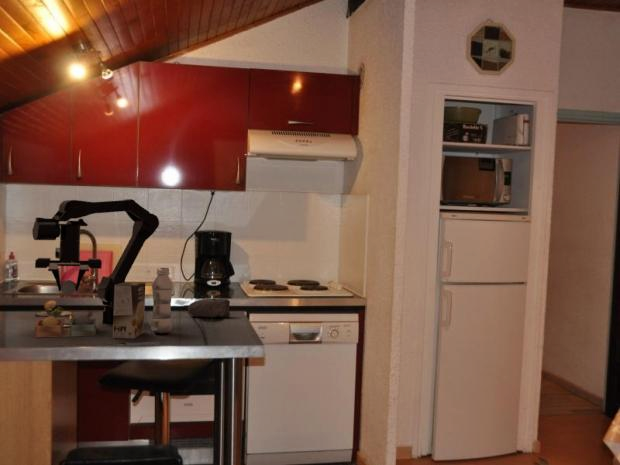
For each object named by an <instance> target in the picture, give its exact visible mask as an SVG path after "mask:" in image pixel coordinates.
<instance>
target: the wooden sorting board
mask: <svg viewBox="0 0 620 465" xmlns="http://www.w3.org/2000/svg"><path fill="white" fill-rule="evenodd" d="M89 318H90V317H89ZM56 319H57V320H58V326H42V322H43V320H44V319H37V321H36V324H35V325H34V338H60V337H63V338H65V337H89V336H90V337H91V336H96V335H97V322H96V321H97V320H96V318H94V317H93V318H92V317H91V318H90V320H91V325H75V322H76V319H77V318H71V319H70V321H69V322H65V319H64V318H56Z"/></svg>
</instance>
